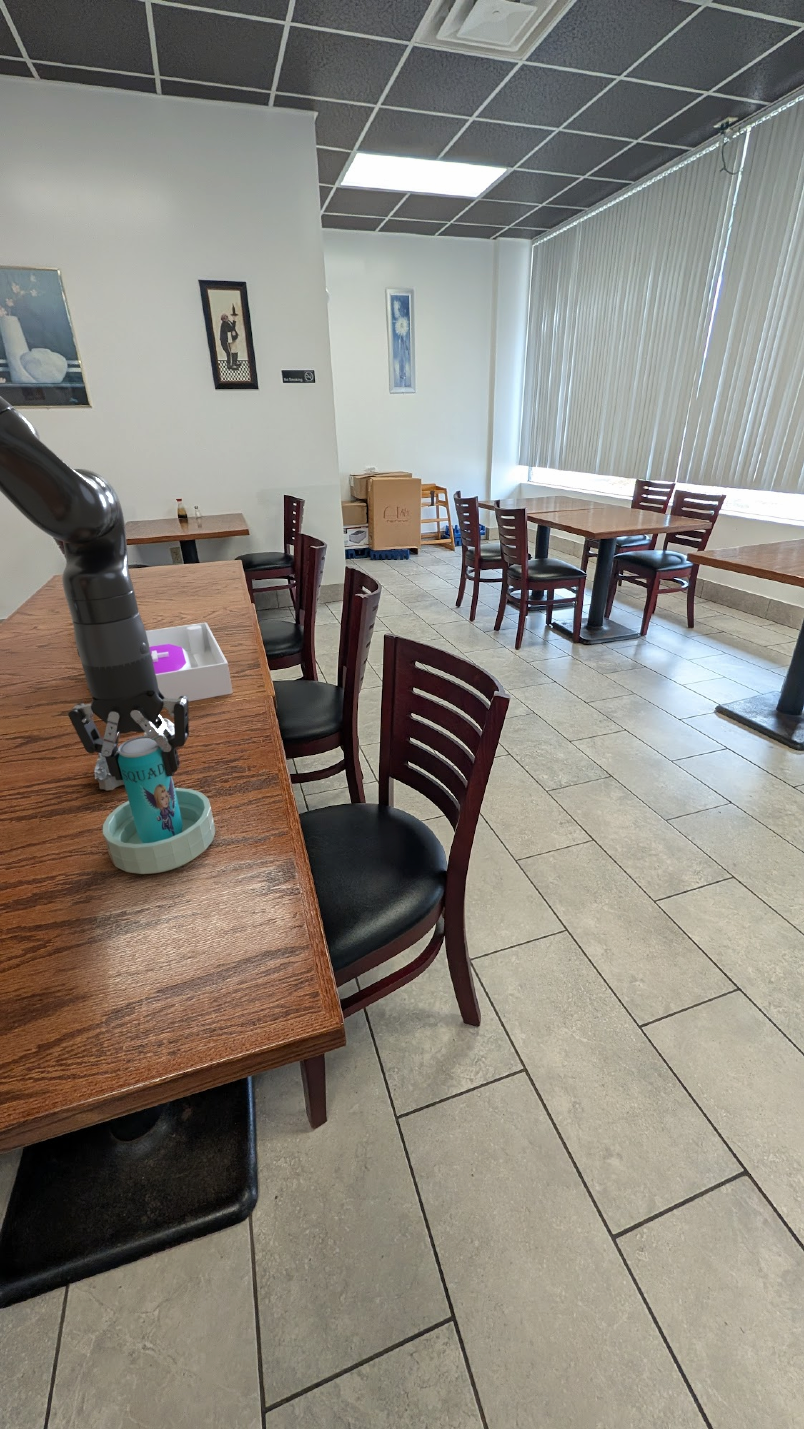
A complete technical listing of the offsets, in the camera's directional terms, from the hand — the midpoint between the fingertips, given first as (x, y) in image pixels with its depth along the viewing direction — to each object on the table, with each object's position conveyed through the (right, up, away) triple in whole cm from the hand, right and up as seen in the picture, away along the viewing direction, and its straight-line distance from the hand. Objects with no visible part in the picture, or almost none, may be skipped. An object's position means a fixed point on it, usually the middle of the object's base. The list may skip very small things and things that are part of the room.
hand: (146, 774), depth 76 cm
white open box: (-21, +17, +63) cm, 69 cm away
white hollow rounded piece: (-11, +2, +32) cm, 34 cm away
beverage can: (0, -10, +5) cm, 11 cm away
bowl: (0, -10, +5) cm, 11 cm away
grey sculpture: (-14, -2, +23) cm, 27 cm away
